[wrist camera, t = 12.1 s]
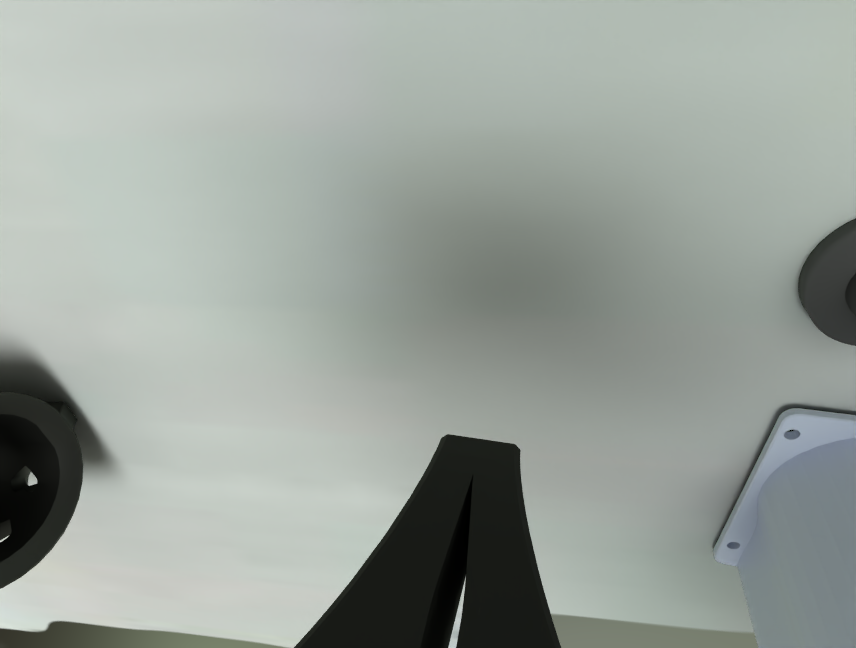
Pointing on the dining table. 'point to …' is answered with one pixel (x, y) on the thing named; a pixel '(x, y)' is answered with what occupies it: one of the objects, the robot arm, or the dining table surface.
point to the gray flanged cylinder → (832, 284)
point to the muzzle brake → (56, 474)
